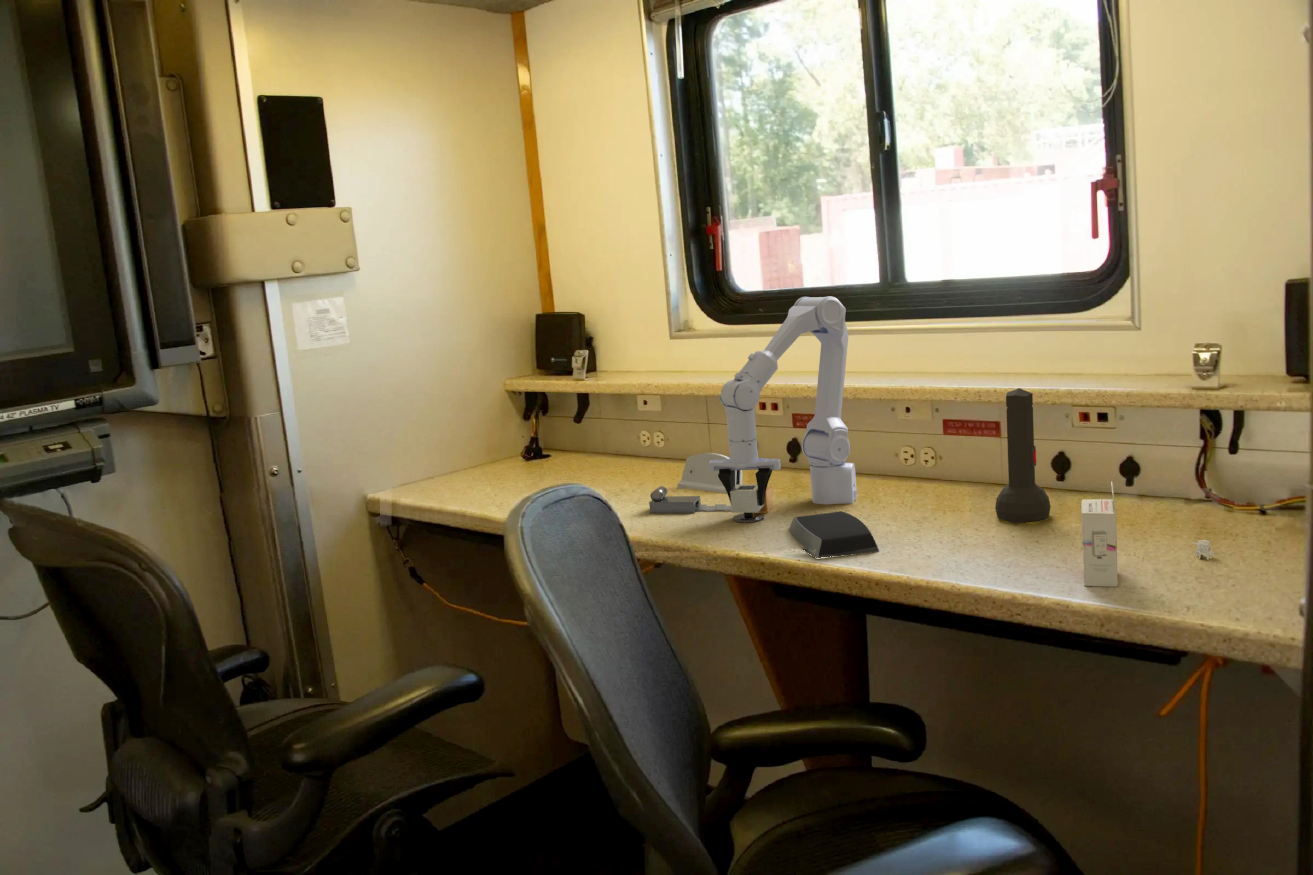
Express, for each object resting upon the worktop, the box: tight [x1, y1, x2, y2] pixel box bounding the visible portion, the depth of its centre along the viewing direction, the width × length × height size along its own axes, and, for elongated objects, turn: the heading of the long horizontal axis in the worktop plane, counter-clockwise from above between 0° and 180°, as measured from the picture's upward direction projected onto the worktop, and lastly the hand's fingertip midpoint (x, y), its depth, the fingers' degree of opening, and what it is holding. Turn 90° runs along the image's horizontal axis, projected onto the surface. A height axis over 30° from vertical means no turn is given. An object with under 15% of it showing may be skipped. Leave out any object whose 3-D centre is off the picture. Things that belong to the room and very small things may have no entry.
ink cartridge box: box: [1080, 480, 1118, 588], centre depth 160 cm, size 9×5×15 cm, turn 158°
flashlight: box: [994, 387, 1052, 524], centre depth 196 cm, size 10×25×10 cm
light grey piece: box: [676, 452, 744, 494], centre depth 243 cm, size 17×5×10 cm, turn 45°
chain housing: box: [648, 485, 702, 515], centre depth 224 cm, size 10×5×5 cm, turn 71°
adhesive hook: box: [1191, 539, 1215, 560], centre depth 166 cm, size 3×3×3 cm
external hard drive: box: [789, 510, 880, 558], centre depth 194 cm, size 13×19×4 cm
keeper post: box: [732, 512, 765, 524], centre depth 212 cm, size 6×6×3 cm
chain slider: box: [695, 486, 774, 514], centre depth 220 cm, size 18×5×4 cm, turn 71°
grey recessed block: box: [730, 483, 764, 514], centre depth 211 cm, size 5×5×4 cm
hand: (747, 504), depth 212 cm, fingers closed on grey recessed block, 5 cm apart
